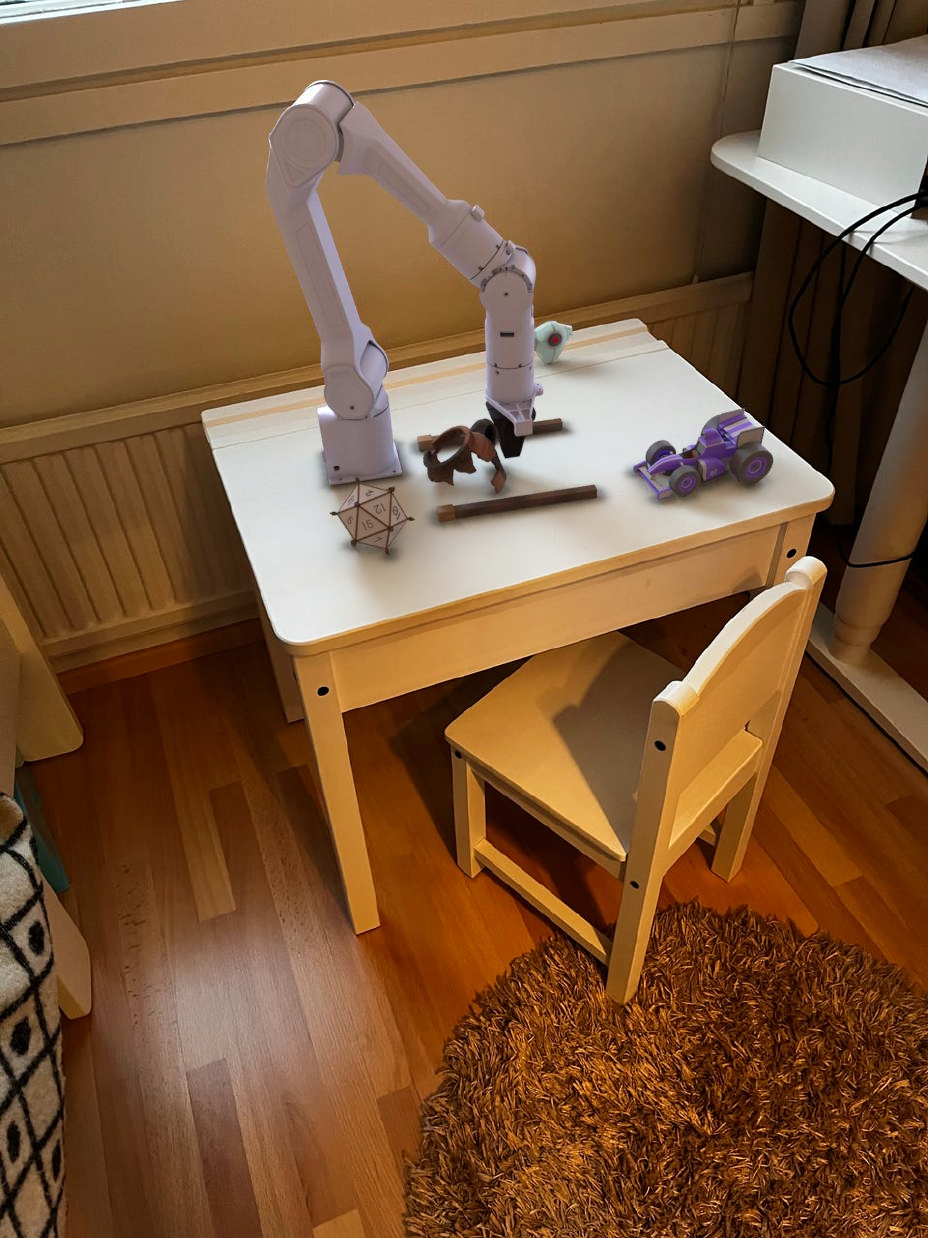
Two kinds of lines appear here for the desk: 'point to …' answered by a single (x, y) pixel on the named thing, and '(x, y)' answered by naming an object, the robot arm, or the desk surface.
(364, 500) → the game die
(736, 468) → the toy race car
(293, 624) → the desk surface
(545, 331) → the robot head
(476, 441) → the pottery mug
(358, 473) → the robot arm
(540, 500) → the walnut slot
